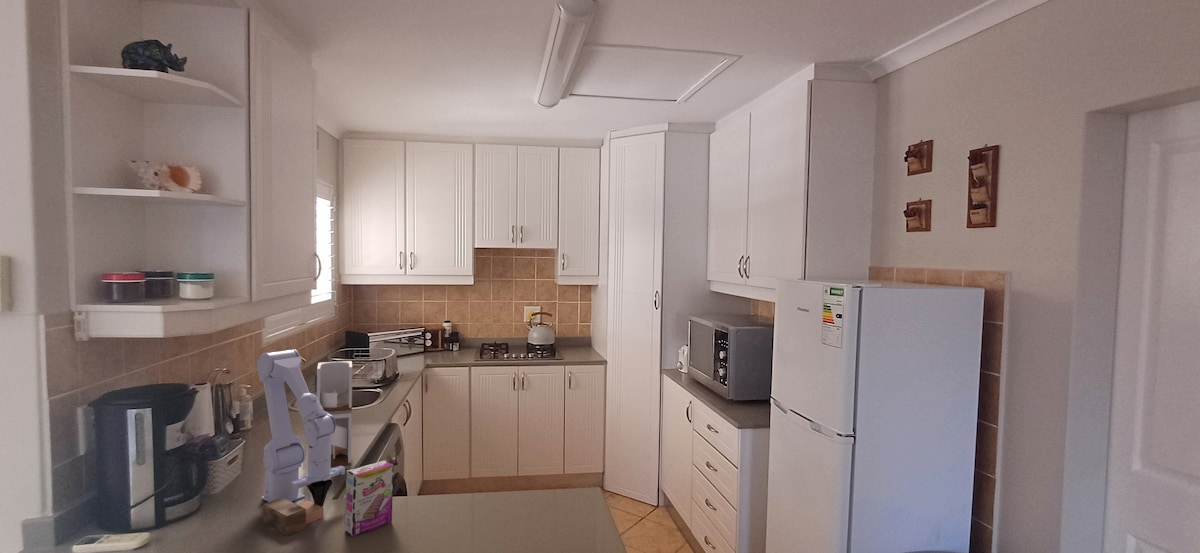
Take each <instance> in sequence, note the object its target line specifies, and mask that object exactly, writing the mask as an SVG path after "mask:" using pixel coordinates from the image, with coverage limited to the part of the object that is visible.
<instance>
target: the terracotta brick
mask: <svg viewBox="0 0 1200 553" xmlns="http://www.w3.org/2000/svg"><path fill="white" fill-rule="evenodd" d="M296 504H297V505H299V506H301V507H303V508H305V509H306V525H307V524H311V523H313V522H315V521H317V520H320V519H323V518H324V513H325V512H324V506H323V507H321V506H319V505H317V504H314V502H312V501H309V500H308V499H307V500H305V501H302V502H299V503H296Z"/></svg>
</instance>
